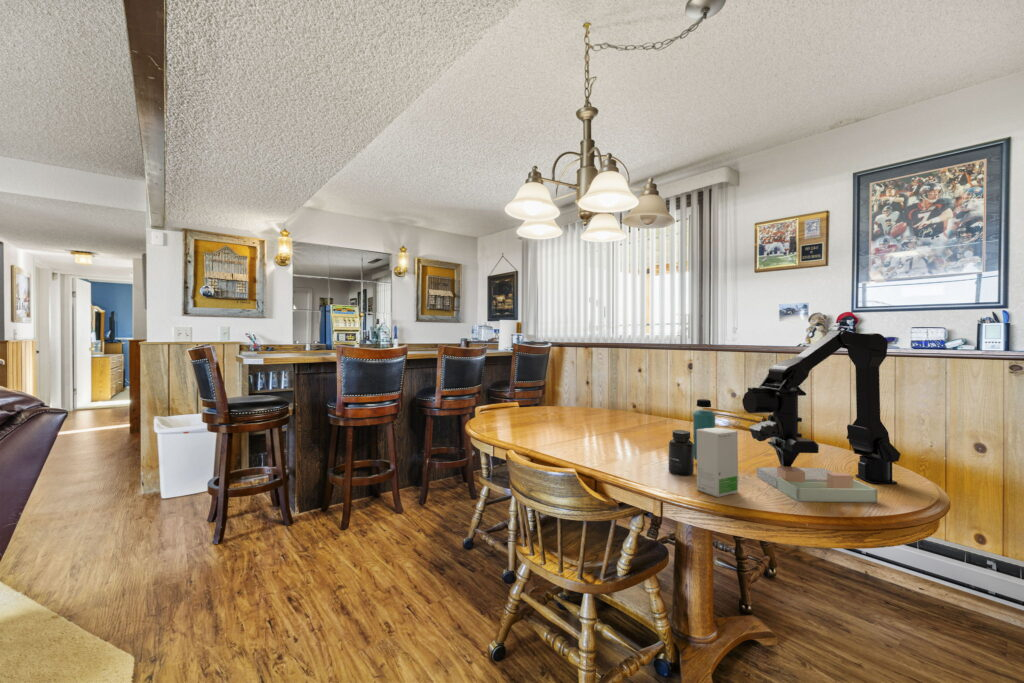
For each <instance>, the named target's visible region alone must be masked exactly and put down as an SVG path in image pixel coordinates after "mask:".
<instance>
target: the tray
mask: <svg viewBox="0 0 1024 683" xmlns="http://www.w3.org/2000/svg"><path fill="white" fill-rule="evenodd" d="M776 489H777V490H779V491H780V492H782V493H783V494H785V495H787V496H788V497H790V498H791V499H792V500H795V501H796V502H806V503H807V502H815V503H817V502H818V503H819V502H820V503H821V502H822V503H875V504H877V503H878V489H877V488H874V487H873V486H870V485H867V484H865V483H863V482H861V481H858V480H855V479H854V478H853V489H832V488H827V482H815V481H805V482H787V481H785V480H783V479H782V478H780V477H777V488H776Z"/></svg>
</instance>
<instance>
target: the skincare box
mask: <svg viewBox="0 0 1024 683" xmlns="http://www.w3.org/2000/svg"><path fill="white" fill-rule="evenodd" d="M696 432H697V460H696V490H697V491H699V492H700V493H701V492H702V493H704V494H707V495H710V496H714V497H717V498H719V497H720V498H721V497H724V496H729V495H733V494H737V493H739V460H738V458H739V456H738V452H739V449H738V448H739V447H738V445H739V442H738V440H739V438H738V430H734V429H727V428H721V427H715V428H705V429H697V430H696Z"/></svg>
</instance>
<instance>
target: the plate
mask: <svg viewBox="0 0 1024 683" xmlns="http://www.w3.org/2000/svg"><path fill="white" fill-rule="evenodd" d="M798 468H799V469H801V470H802V471H804V472H805V481H815V482H827V472H832V473H835V472H834V471H831V470H829V469H826V468H824V467H798ZM756 477H757V478H759V479H761V480H762V481H764V482H765V483H767V484H769V485H771V486H772V487H773V488H775V489H777V477H779V476H777V467H772V466H771V467H763V466H762V467H760V466H759V467H756Z"/></svg>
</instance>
